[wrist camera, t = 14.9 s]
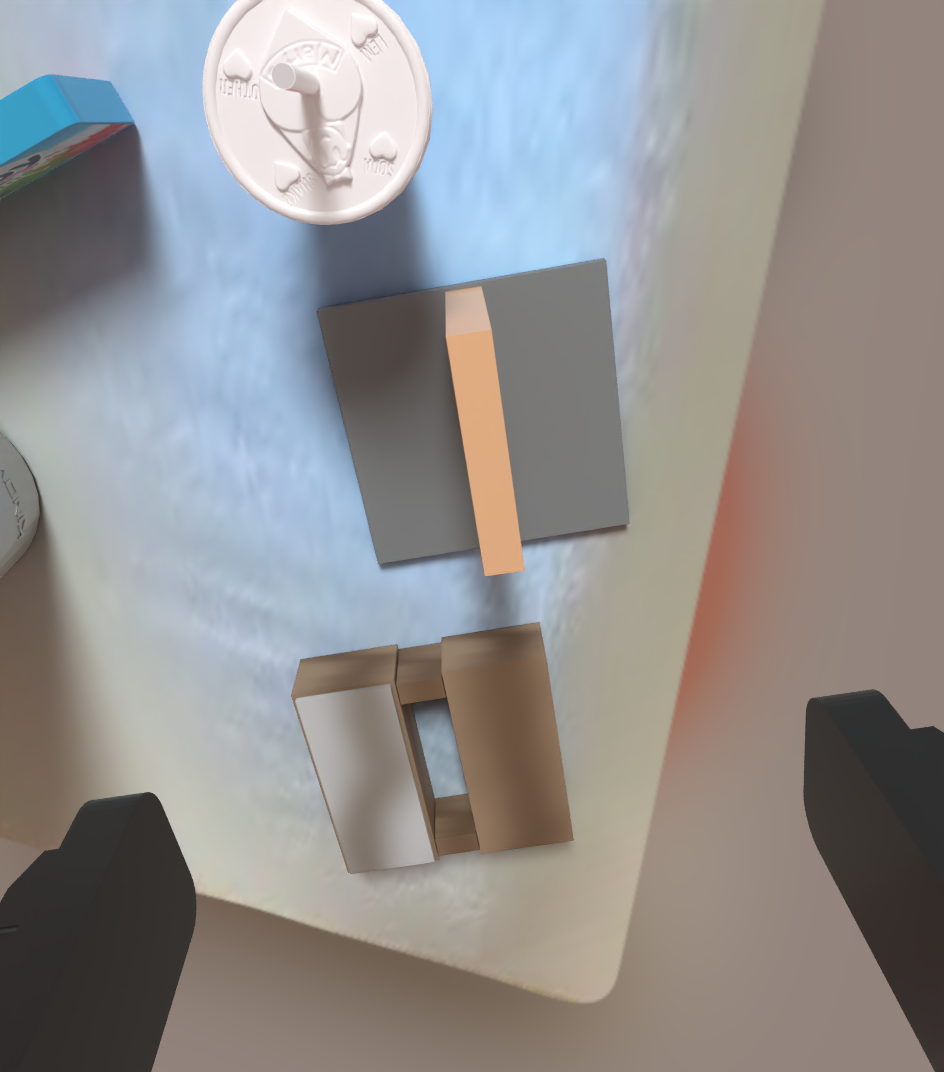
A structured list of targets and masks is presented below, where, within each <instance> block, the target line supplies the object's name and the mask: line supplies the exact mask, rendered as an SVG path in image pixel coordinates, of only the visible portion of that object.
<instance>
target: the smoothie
mask: <svg viewBox="0 0 944 1072" xmlns="http://www.w3.org/2000/svg"><path fill="white" fill-rule="evenodd" d="M203 103H204V111H205V116H206V120H207V125H208V128H209V131H210V135H211V138H212V140H213V142H214V145H215V147H216V150H217V152H218V153H219V155H220V157H221V159H222V161H223V163H224V164H225V166H226V167H227V169H228V170H229V172H230V173H231V174H232V176H233V177H234V178H235V180H236V181H237V182H238V183H239V184H240V185H241V186H242V188H243V189H244V190H245V191H247V192H248V193H249V194H250V195H251V196H252V197H253V198H254V199H256V200H257V201H258V202H260V203H261V204H262V205H264V206H265V207H267V208H269V209H270V210H272V211H274V212H276V213H278V214H280V215H282V216H284V217H287V218H289V219H292V220H296V221H299V222H303V223H308V224H317V225H335V224H343V223H347V222H355V221H358V220H360V219H362V218H364V217H367V216H369V215H371V214H374V213H376V212H378V211H380V210H382V209H383V208H384V207H385V206H387V205H388V204H389V203H390V202H391V201H393V200H394V199H395V198H396V197H397V196H399V195H400V194H401V193H402V192H403V191H404V189H405V188H406V186H407V185H408V184H409V182H410V181H411V179H412V178H413V176H414V175H415V173H416V172H417V171H418V169H419V167H420V164H421V162H422V159H423V156H424V153H425V151H426V148H427V145H428V142H429V140H430V131H431V122H432V112H433V104H432V96H431V88H430V80H429V74H428V71H427V69H426V66H425V63H424V61H423V58H422V55H421V53H420V50H419V47H418V45H417V42H416V41H415V39H414V38H413V37H412V35H411V34H410V32H409V31H408V29H407V28H406V26H405V25H404V23H403V22H402V20H401V19H400V17H399V16H398V15H397V14H396V13H395V12H394V11H393V10H392V9H391V8H389V7H388V6H387V5H386V4H385V3H384V2H383V1H382V0H237V1H236V2H235V3H234V4H233V5H232V6H231V7H230V9H229V10H228V11H227V13H226V14H225V15H224V17H223V18H222V20H221V22H220V23H219V25H218V27H217V28H216V31H215V33H214V35H213V37H212V40H211V43H210V45H209V48H208V52H207V56H206V60H205V66H204V73H203Z"/></svg>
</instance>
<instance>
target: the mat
mask: <svg viewBox="0 0 944 1072" xmlns="http://www.w3.org/2000/svg"><path fill="white" fill-rule="evenodd" d="M480 286H482V290H483V295H484V299H485V303H486V308H487V312H488V316H489V321H490V325H491V329H492V336H493V344H494V351H495V358H496V365H497V373H498V380H499V387H500V394H501V402H502V409H503V416H504V423H505V431H506V438H507V445H508V452H509V460H510V467H511V474H512V481H513V489H514V496H515V503H516V510H517V518H518V525H519V532H520V539H521V541H525V540H531V539H537V538H544V537H550V536H556V535H562V534H568V533H575V532H581V531H587V530H593V529H600V528H606V527H612V526H618V525H625V524H630V522H629V511H628V500H627V489H626V477H625V466H624V455H623V444H622V433H621V422H620V411H619V399H618V388H617V377H616V366H615V355H614V344H613V333H612V321H611V310H610V299H609V288H608V277H607V266H606V260H605V259H604V258H603V259H597V260H591V261H586V262H580V263H574V264H568V265H563V266H557V267H551V268H546V269H540V270H534V271H528V272H523V273H517V274H511V275H506V276H500V277H494V278H488V279H483V280H477V281H471V282H466V283H460V284H454V285H448V286H443V287H437V288H431V289H425V290H420V291H414V292H408V293H403V294H397V295H391V296H385V297H380V298H374V299H368V300H363V301H357V302H351V303H345V304H340V305H334V306H328V307H323V308H318V310H317V315H318V319H319V323H320V327H321V331H322V335H323V339H324V343H325V347H326V351H327V356H328V360H329V364H330V368H331V372H332V376H333V380H334V384H335V388H336V393H337V397H338V401H339V405H340V409H341V413H342V417H343V421H344V425H345V430H346V434H347V438H348V442H349V446H350V450H351V454H352V458H353V462H354V467H355V471H356V475H357V479H358V483H359V487H360V491H361V495H362V499H363V503H364V508H365V512H366V516H367V520H368V524H369V528H370V532H371V536H372V540H373V545H374V549H375V553H376V557H377V561H378V564H382V563H388V562H394V561H400V560H406V559H413V558H419V557H425V556H431V555H438V554H444V553H450V552H456V551H463V550H469V549H475V548H480V544H479V538H478V531H477V525H476V519H475V513H474V507H473V501H472V495H471V488H470V482H469V476H468V470H467V464H466V458H465V451H464V445H463V439H462V433H461V427H460V421H459V415H458V408H457V402H456V396H455V390H454V384H453V378H452V372H451V365H450V359H449V353H448V347H447V341H446V307H445V292H449V291H455V290H461V289H468V288H474V287H480Z"/></svg>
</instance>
